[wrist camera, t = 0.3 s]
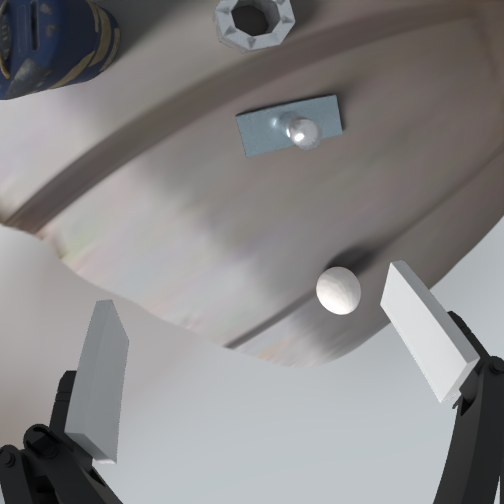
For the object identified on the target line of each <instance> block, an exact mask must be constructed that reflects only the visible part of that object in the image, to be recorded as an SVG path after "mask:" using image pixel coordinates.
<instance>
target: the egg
mask: <svg viewBox="0 0 504 504" xmlns="http://www.w3.org/2000/svg"><path fill="white" fill-rule="evenodd" d="M317 295H318V298H319V300H320V302H321V304H322V305H323V306H324V307H325V308H326V309H328V310H329V311H331V312H333V313H336V314H347V313H350V312H351V311H353V310H354V309H355V308H356V307H357V305H358V303H359V301H360V296H361V289H360V284H359V281H358V279H357V278H356V276H355V275H354V274H353V273H352V272H351V271H350V270H348V269H346V268H343V267H332V268H330V269H327V270H326V271H324V272H323V273H322V275H321V276H320V278H319V279H318V282H317Z"/></svg>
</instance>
